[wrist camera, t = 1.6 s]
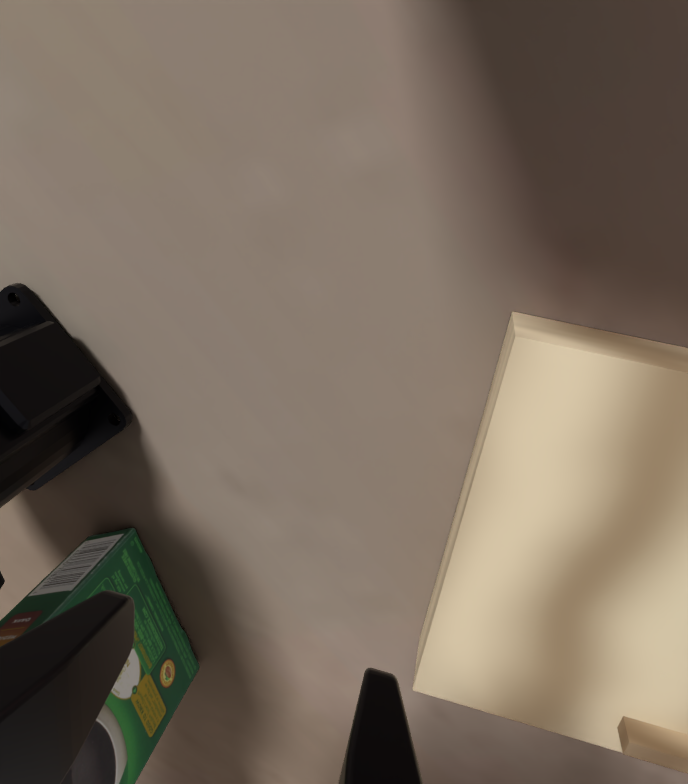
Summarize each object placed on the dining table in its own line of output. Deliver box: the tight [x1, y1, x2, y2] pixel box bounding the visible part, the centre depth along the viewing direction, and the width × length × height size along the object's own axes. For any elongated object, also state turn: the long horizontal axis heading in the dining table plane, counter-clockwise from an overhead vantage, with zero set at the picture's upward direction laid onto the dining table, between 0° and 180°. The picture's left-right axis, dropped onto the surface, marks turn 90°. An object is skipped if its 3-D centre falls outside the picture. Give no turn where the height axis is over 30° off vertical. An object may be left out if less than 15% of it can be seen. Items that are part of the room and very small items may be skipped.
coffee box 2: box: [0, 528, 199, 784], centre depth 21 cm, size 8×3×13 cm, turn 17°
